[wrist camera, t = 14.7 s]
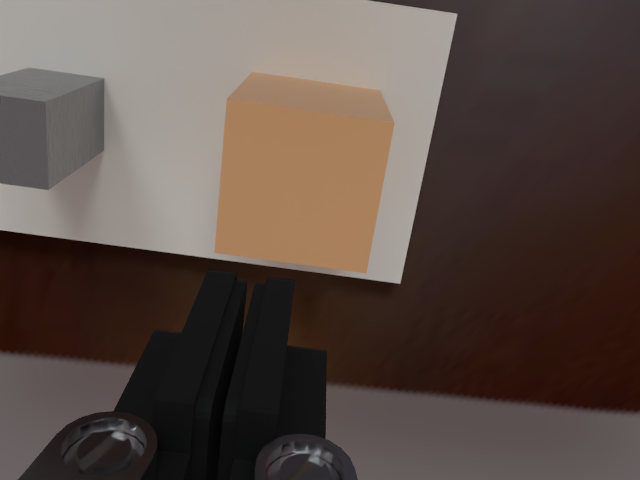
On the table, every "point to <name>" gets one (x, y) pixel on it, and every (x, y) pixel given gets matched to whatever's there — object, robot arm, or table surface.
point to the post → (48, 125)
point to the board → (215, 108)
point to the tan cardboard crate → (302, 171)
